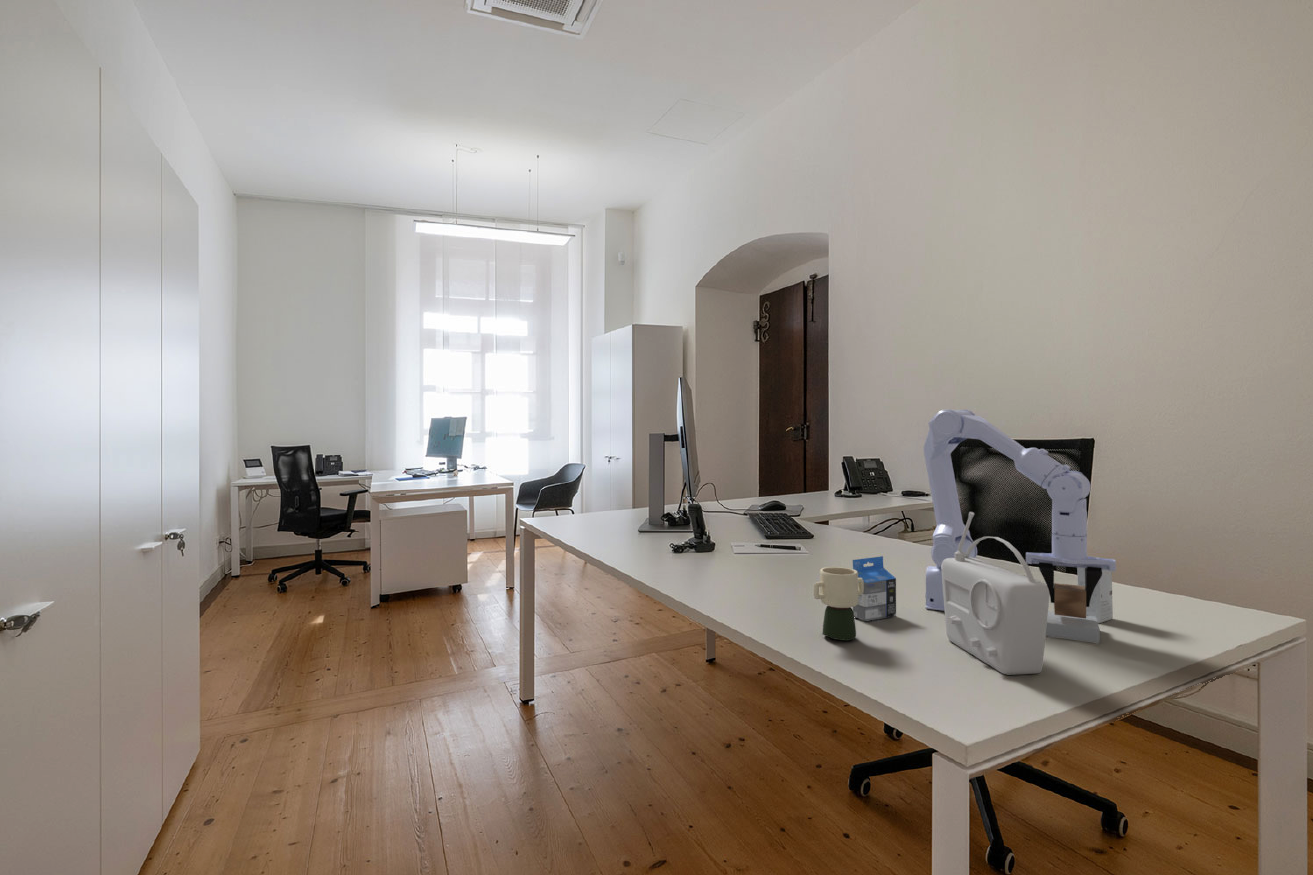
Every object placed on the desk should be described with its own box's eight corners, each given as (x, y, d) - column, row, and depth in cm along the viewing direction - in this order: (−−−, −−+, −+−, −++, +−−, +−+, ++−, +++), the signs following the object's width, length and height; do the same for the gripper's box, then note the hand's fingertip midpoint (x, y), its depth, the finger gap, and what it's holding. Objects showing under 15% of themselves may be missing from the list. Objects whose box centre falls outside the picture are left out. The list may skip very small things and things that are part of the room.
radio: (932, 636, 120) (931, 507, 119) (973, 635, 120) (972, 506, 120) (1003, 682, 98) (1003, 524, 98) (1053, 680, 98) (1053, 523, 98)
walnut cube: (1054, 614, 120) (1054, 588, 120) (1054, 607, 124) (1053, 583, 124) (1086, 618, 117) (1086, 592, 117) (1084, 611, 122) (1084, 586, 122)
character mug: (852, 629, 125) (851, 564, 124) (875, 640, 118) (874, 572, 118) (804, 635, 121) (803, 568, 121) (824, 647, 114) (824, 577, 114)
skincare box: (1100, 623, 126) (1100, 564, 126) (1076, 618, 130) (1076, 560, 130) (1113, 618, 130) (1113, 560, 129) (1089, 613, 133) (1089, 557, 133)
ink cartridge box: (865, 622, 129) (864, 563, 129) (851, 617, 132) (851, 559, 132) (897, 616, 133) (896, 559, 132) (883, 611, 136) (882, 555, 136)
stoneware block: (1042, 637, 120) (1042, 622, 120) (1042, 624, 127) (1042, 610, 127) (1099, 645, 115) (1099, 629, 115) (1095, 631, 123) (1095, 616, 123)
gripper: (1025, 534, 121) (1025, 603, 121) (1117, 540, 114) (1117, 614, 114) (1025, 529, 127) (1026, 595, 128) (1113, 534, 120) (1113, 604, 120)
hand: (1069, 603), depth 121 cm, fingers closed on walnut cube, 5 cm apart
